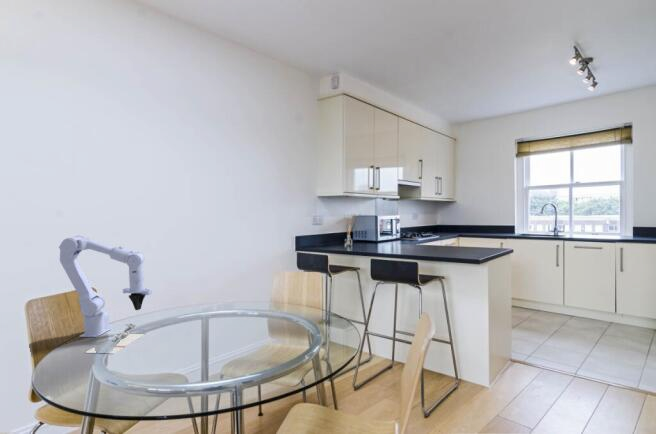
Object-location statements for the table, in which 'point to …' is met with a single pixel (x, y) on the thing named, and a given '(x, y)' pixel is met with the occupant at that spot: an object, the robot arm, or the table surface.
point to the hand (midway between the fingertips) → (138, 309)
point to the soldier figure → (125, 333)
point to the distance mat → (122, 342)
